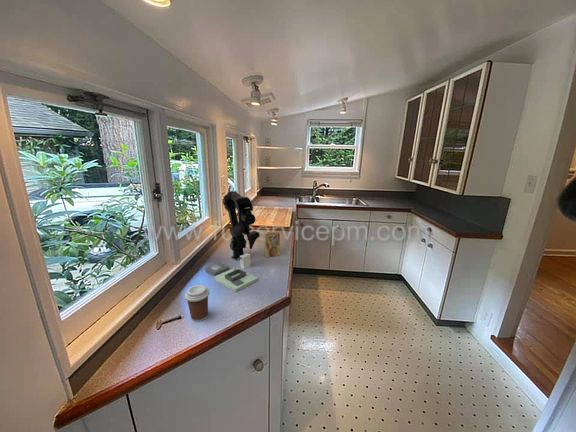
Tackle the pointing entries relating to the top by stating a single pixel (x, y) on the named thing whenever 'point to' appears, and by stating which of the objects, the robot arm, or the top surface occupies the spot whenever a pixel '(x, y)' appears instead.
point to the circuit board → (235, 279)
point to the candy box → (272, 244)
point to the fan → (216, 269)
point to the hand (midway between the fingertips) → (245, 246)
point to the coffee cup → (198, 302)
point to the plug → (245, 260)
